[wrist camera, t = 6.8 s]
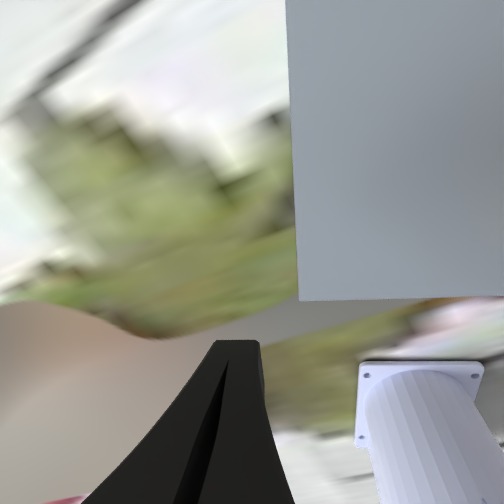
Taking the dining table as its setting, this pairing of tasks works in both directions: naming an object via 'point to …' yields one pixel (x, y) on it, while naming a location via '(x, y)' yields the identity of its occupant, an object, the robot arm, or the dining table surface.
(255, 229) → the dining table surface
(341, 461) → the dining table surface
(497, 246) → the board
